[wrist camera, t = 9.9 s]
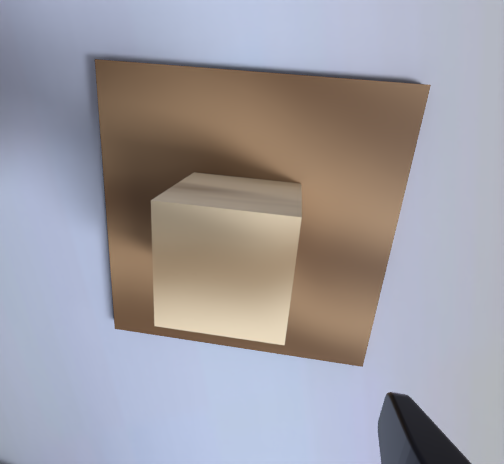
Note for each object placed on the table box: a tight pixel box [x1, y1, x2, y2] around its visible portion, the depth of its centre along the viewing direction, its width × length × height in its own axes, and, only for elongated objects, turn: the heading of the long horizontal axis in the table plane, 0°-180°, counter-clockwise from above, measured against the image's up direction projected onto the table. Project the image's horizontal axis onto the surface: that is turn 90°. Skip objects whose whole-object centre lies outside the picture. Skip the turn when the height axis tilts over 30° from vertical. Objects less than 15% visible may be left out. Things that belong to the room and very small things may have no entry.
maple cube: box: [151, 172, 302, 345], centre depth 15 cm, size 5×5×5 cm
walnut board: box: [95, 59, 431, 367], centre depth 17 cm, size 14×14×1 cm
